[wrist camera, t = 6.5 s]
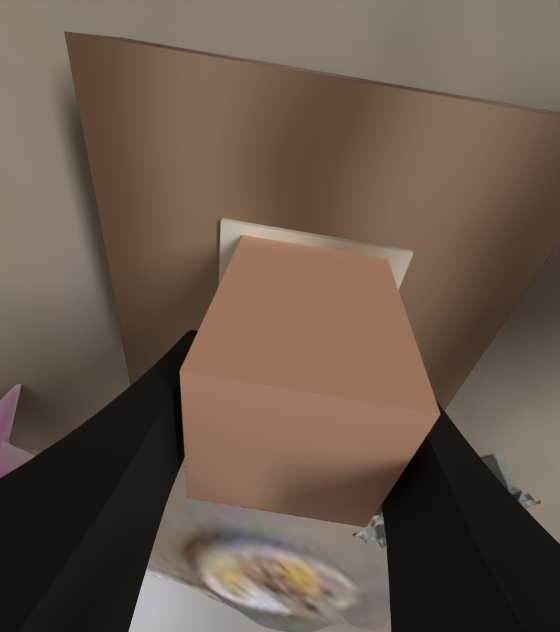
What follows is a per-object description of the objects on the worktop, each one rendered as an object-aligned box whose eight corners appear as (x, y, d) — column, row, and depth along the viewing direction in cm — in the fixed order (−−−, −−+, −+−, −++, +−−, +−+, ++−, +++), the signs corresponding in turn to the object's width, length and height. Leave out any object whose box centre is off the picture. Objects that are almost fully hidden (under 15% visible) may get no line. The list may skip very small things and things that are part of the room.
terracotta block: (387, 257, 11) (440, 414, 6) (350, 362, 14) (366, 527, 9) (242, 234, 11) (179, 371, 6) (234, 343, 14) (187, 497, 9)
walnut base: (564, 113, 11) (640, 130, 8) (405, 400, 19) (418, 453, 17) (121, 37, 11) (59, 30, 8) (157, 359, 19) (132, 405, 17)
